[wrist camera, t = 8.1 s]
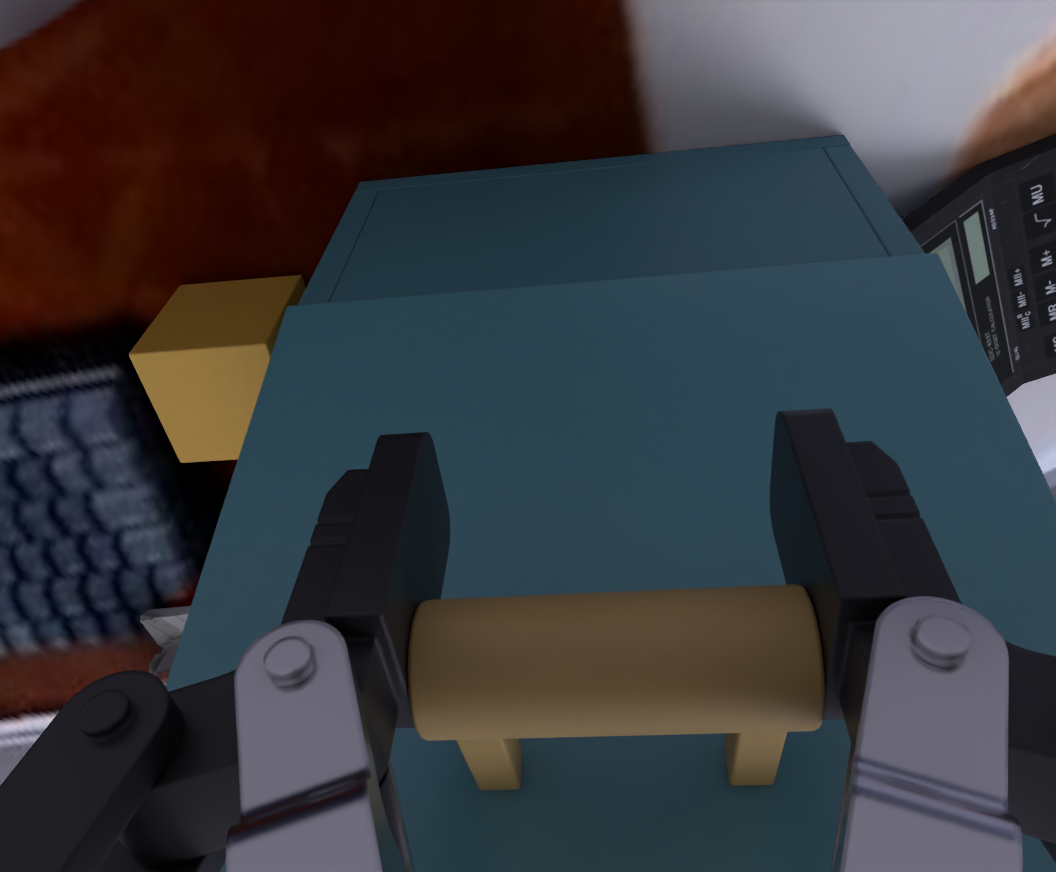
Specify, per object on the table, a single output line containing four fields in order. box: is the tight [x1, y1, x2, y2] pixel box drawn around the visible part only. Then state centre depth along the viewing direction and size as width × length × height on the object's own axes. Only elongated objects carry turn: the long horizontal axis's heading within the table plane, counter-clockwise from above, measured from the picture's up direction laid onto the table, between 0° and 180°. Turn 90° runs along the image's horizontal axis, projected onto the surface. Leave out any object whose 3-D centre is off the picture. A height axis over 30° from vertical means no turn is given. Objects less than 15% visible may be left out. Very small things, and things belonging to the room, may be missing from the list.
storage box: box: [298, 135, 925, 305], centre depth 30 cm, size 14×17×9 cm
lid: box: [165, 253, 1056, 872], centre depth 16 cm, size 15×17×5 cm
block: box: [129, 275, 306, 463], centre depth 33 cm, size 5×5×5 cm
